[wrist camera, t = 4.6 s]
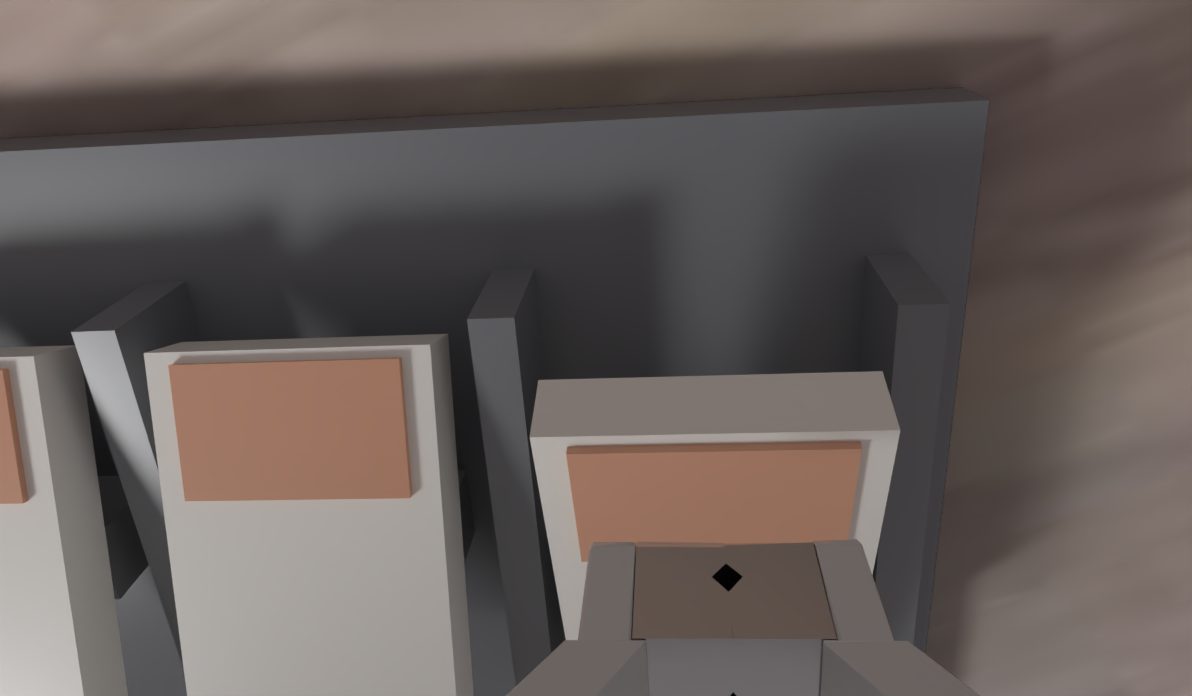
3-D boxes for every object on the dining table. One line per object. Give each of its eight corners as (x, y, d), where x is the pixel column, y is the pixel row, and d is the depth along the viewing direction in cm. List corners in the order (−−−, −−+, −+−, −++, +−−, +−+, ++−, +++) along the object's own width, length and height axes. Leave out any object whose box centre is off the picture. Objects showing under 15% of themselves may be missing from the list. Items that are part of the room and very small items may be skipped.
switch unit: (876, 919, 26) (910, 1075, 23) (112, 897, 28) (32, 1036, 25) (962, 87, 16) (1047, 127, 13) (-215, 150, 19) (-428, 200, 15)
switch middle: (483, 835, 17) (468, 887, 16) (240, 830, 18) (205, 880, 17) (447, 334, 16) (427, 345, 14) (181, 342, 16) (138, 354, 15)
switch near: (824, 722, 19) (833, 785, 18) (593, 720, 19) (589, 781, 18) (881, 370, 13) (902, 437, 12) (538, 379, 13) (528, 444, 12)
